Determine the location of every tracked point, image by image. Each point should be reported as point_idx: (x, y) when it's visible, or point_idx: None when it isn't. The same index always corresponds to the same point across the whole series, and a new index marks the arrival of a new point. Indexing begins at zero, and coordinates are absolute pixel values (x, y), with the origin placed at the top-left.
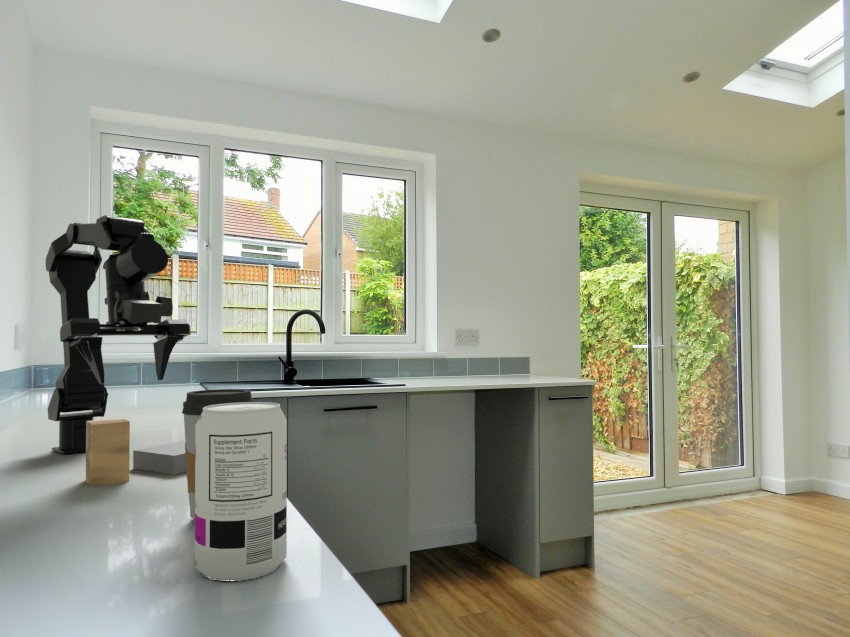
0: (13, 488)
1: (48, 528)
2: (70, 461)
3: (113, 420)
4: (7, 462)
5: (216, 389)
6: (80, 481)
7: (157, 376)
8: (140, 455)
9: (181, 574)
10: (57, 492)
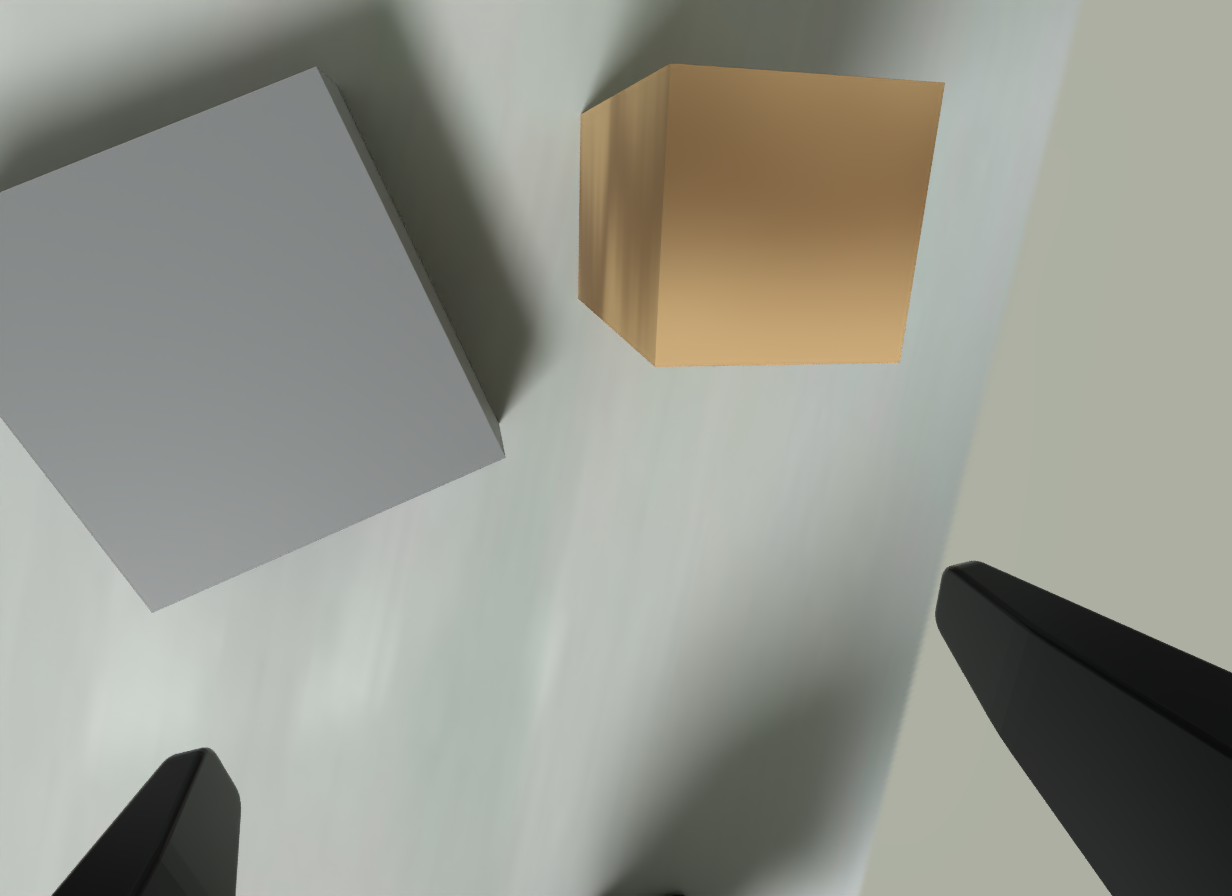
0: (978, 341)
1: None
2: (692, 752)
3: (753, 242)
4: (871, 845)
5: None
6: None
7: (234, 859)
8: (475, 390)
9: None
10: None
